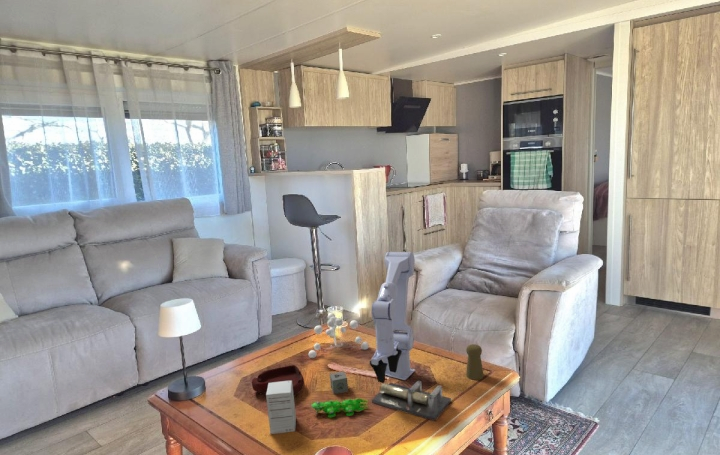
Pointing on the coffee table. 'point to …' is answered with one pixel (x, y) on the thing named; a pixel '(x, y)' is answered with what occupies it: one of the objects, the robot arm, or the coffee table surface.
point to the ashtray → (279, 378)
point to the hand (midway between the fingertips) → (387, 376)
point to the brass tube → (403, 393)
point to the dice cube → (338, 382)
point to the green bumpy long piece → (340, 406)
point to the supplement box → (281, 407)
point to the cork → (474, 362)
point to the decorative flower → (331, 332)
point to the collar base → (409, 406)
